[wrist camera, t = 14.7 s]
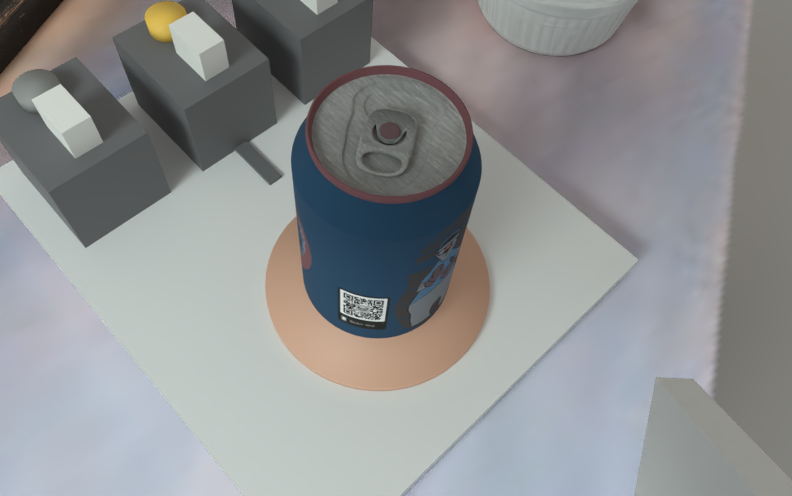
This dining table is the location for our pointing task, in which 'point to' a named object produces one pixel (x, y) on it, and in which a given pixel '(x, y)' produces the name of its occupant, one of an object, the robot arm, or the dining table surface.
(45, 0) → the hardcover book
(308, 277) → the soda can
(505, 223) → the breaker board
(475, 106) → the dining table surface
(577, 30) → the ramekin
